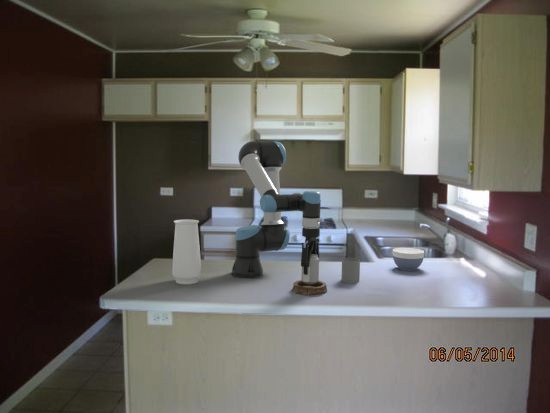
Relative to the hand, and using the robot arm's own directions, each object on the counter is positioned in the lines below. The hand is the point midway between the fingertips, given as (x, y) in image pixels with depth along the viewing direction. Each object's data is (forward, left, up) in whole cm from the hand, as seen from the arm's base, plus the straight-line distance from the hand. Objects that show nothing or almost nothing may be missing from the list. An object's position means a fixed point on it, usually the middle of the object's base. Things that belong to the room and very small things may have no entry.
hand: (309, 279), depth 228 cm
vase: (-55, -14, -5) cm, 57 cm away
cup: (+10, +25, -5) cm, 27 cm away
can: (0, 0, -1) cm, 1 cm away
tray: (0, 0, -5) cm, 5 cm away
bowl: (+28, +63, -5) cm, 69 cm away
